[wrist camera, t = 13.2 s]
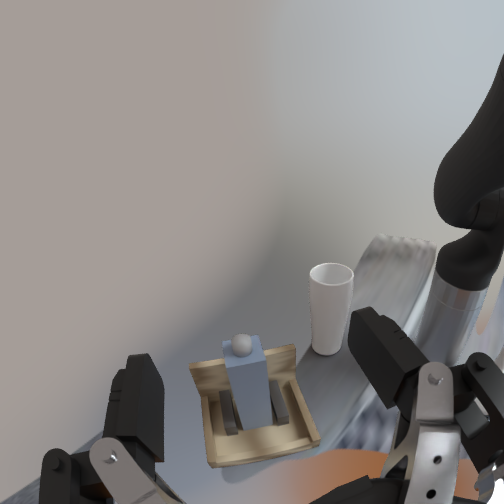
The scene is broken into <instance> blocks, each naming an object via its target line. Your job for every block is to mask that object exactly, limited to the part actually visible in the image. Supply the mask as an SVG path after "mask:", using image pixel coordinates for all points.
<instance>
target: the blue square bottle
mask: <svg viewBox="0 0 504 504" xmlns="http://www.w3.org/2000/svg"><path fill="white" fill-rule="evenodd" d="M222 346H223V353H224V359H225V365H226V370H227V374H228V377H229V381H230V385H231V388H232V392H233V396H234V399H235V403H236V406H237V410H238V413H239V417H240V420H241V423H242V427H243V430H244V431H245V430H250V429H256V428H260V427H265V426H270V425H273V421H272V411H271V401H270V391H269V381H268V371H267V362H266V357H265V354H264V351H263V348H262V345H261V342H260V339H259V336H258V335H253V336H249V335H247V334H237V335H235V336H234V337H233V338H232V339H231V340H227V341H222Z"/></svg>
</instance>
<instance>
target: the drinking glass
mask: <svg viewBox="0 0 504 504" xmlns="http://www.w3.org/2000/svg"><path fill="white" fill-rule="evenodd" d="M353 282H354V274H353V271H352V270H351V269H350V268H348V267H346V266H345V265H342V264H338V263H324V264H320V265H317V266H315V267H314V268H313V269H312V270H311V271H310V274H309V304H310V316H311V330H312V348H313V349H314V351H315V352H317V353H318V354H321V355H332V354H335V353H336V352H338V351H339V350H340V348H341V345H342V339H343V335H344V330H345V326H346V322H347V318H348V314H349V310H350V305H351V300H352V294H353Z"/></svg>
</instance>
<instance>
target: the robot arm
mask: <svg viewBox="0 0 504 504" xmlns="http://www.w3.org/2000/svg"><path fill="white" fill-rule="evenodd" d="M434 201H435V206H436V209H437V211H438V214H439V215H440V217H441V218H442V219H443V220H444V221H445V222H446V223H448V224H449V225H451V226H454V227H458V228H464V229H472V230H471V231H470V232H469V233H468V234H467V235H465V236H464V237H462V238H460V239H458V240H456V241H453V242H451V243H448V244H446V245H444V246H443V247H442V248H441V249H440V251H439V253H438V257H437V262H436V267H435V271H434V276H433V280H432V285H431V288H430V292H429V296H428V300H427V304H426V307H425V311H424V314H423V317H422V320H421V324H420V327H419V330H418V333H417V336H416V339H415V341H414V343H413V342H412V340H411V339H410V338H409V337H407V335H406V334H405V332H404V331H403V330H401V328H400V327H399V326H398V325H397V324H396V322H395V321H394V320H392V319H390V318H388V317H386V316H385V315H381V316H379V315H378V314H377V312H376V311H375V310H374V309H373V308H372V307H366V308H363V309H359V310H356V311H353V312H352V314H351V320H350V327H349V334H348V346H349V349H350V351H351V353H352V355H353V356H354V358H355V359H356V361H357V362H358V364H359V365H360V367H361V369H362V370H363V372H364V373H365V375H366V376H367V378H368V380H369V381H370V383H371V384H372V386H373V387H374V389H375V391H376V392H377V394H378V395H379V397H380V399H381V400H382V402H383V403H384V405H385V407H386V408H387V409H389V408H392V407H394V406H396V405H397V407H398V408H399V411H398V414H397V419H396V425H395V430H394V435H393V440H392V445H391V449H390V453H389V455H388V457H387V459H386V461H385V464H384V466H383V469H382V472H381V476H380V478H373V479H369V477H368V475H366V476H364V477H361V478H359V479H357V480H354V481H352V482H349V483H347V484H344V485H342V486H339V487H337V488H335V489H334V490H332V491H330V492H329V493H327V494H325V495H323V496H322V497H320V498H318V499H316V500H315V501H313V502H311V503H309V504H504V373H503V372H502V371H501V370H500V368H499V367H498V366H497V365H496V364H495V362H494V361H493V360H492V359H491V358H490V357H489V356H488V355H486V354H484V353H481V352H476V353H473V354H471V355H470V356H469V358H468V360H467V361H466V363H465V364H462V365H457V366H455V365H456V363H457V361H458V359H459V357H460V355H461V353H462V351H463V349H464V347H465V345H466V343H467V341H468V339H469V336H470V334H471V332H472V330H473V327H474V325H475V323H476V320H477V318H478V315H479V313H480V310H481V307H482V305H483V302H484V299H485V296H486V293H487V290H488V287H489V284H490V281H491V278H492V276H493V274H494V273H495V271H496V270H497V268H498V266H499V264H500V261H501V257H502V254H503V251H504V55H503V57H502V60H501V62H500V65H499V68H498V70H497V73H496V76H495V79H494V81H493V84H492V86H491V88H490V90H489V92H488V95H487V96H486V98H485V100H484V102H483V104H482V106H481V107H480V109H479V111H478V113H477V114H476V116H475V118H474V119H473V121H472V122H471V124H470V125H469V127H468V128H467V129H466V131H465V132H464V133H463V135H462V136H461V137H460V139H459V140H458V141H457V142H456V143H455V144H454V145H453V147H452V148H451V149H450V150H449V151H448V153H447V154H446V155H445V157H444V158H443V160H442V162H441V164H440V166H439V168H438V171H437V175H436V178H435V183H434ZM476 397H477V398H478V400H479V401H480V403H481V404H482V405H483V407H484V408H485V410H486V411H487V413H488V414H489V417H490V422H489V421H488V420H487V418H486V417H485V415H484V414H483V412H482V411H481V409H480V408H479V407H478V405H477V404H476V402H475V401H474V400H475V399H476ZM460 441H461V443H462V444H463V446H464V448H465V450H466V452H467V453H468V455H469V457H470V459H471V461H472V462H473V464H474V466H475V468H476V470H477V472H478V474H479V476H478V480H477V482H476V483H475V485H474V489H475V490H476V491H479V498H478V501H475V500H471V499H465V498H461V497H457V496H453V495H454V489H455V483H456V477H457V470H458V462H459V452H460ZM155 462H164V385H163V381H162V378H161V376H160V374H159V372H158V371H157V369H156V367H155V365H154V363H153V361H152V359H151V357H150V356H149V354H147V353H146V354H138V355H130V356H128V359H127V364H126V369H120V370H119V371H118V372H117V374H116V376H115V377H114V379H113V381H112V386H111V393H110V396H109V403H108V407H107V413H106V419H105V426H104V431H103V436H102V439H99V440H98V441H96V442H95V443H94V444H93V445H92V447H91V449H90V450H89V451H86V452H82V453H77V454H72V455H69V454H68V453H66V452H65V451H64V450H62V449H58V448H57V449H56V448H55V449H52V450H50V451H48V452H47V453H46V454H45V456H44V458H43V462H42V470H41V479H40V491H39V504H113V498H114V499H115V501H116V502H117V503H118V504H186V503H185V502H184V501H183V500H182V499H181V498H180V497H179V496H178V495H177V494H176V493H175V492H174V491H173V490H172V489H171V488H170V487H169V486H168V485H167V484H166V483H165V482H164V480H163V479H162V478H161V477H160V476H159V475H158V474H157V473H156V472H155Z"/></svg>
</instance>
